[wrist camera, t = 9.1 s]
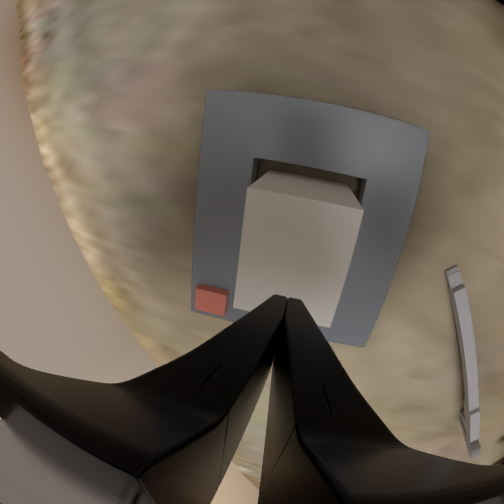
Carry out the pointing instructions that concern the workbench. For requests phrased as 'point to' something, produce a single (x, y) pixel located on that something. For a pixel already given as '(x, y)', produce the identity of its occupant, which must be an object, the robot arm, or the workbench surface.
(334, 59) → the workbench surface
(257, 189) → the plug
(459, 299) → the caliper
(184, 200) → the workbench surface
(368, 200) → the socket
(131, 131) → the workbench surface
